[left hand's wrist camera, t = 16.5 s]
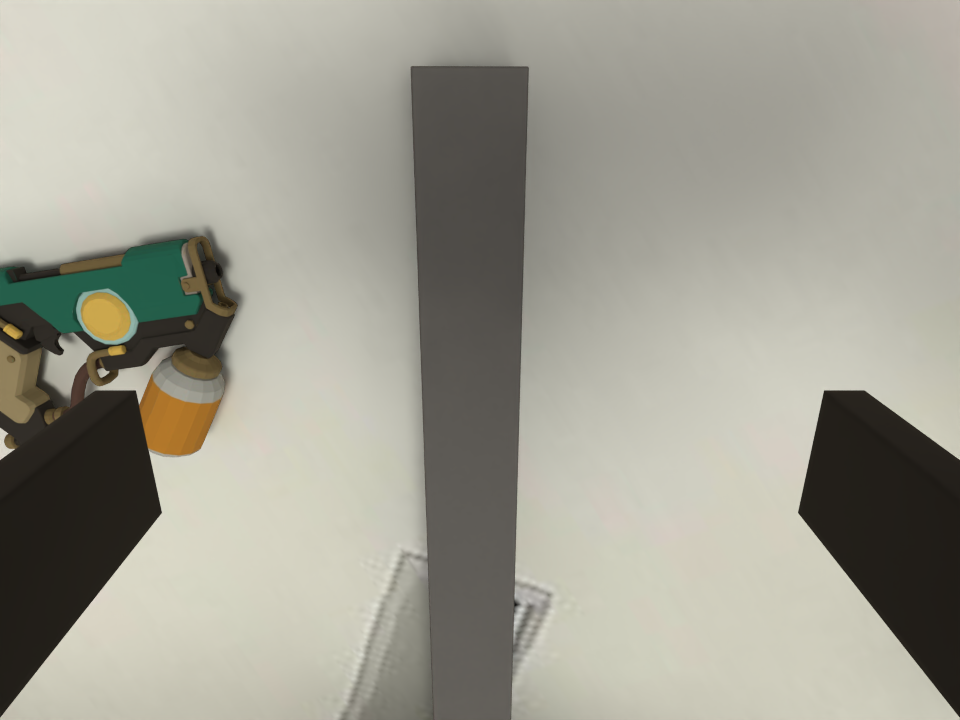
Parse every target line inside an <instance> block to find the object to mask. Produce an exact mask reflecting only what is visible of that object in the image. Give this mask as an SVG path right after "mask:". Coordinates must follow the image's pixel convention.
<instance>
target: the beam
mask: <svg viewBox="0 0 960 720" xmlns="http://www.w3.org/2000/svg"><path fill="white" fill-rule="evenodd" d="M528 71H529V68H528V67H475V66H412V67H411V88H412V117H413V145H414V174H415V203H416V231H417V260H418V288H419V317H420V346H421V374H422V403H423V432H424V460H425V489H426V517H427V546H428V575H429V603H430V632H431V660H432V689H433V718H434V720H511V698H512V662H513V625H514V588H515V551H516V514H517V477H518V440H519V403H520V366H521V329H522V292H523V256H524V219H525V182H526V145H527V108H528Z"/></svg>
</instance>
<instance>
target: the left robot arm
mask: <svg viewBox="0 0 960 720" xmlns="http://www.w3.org/2000/svg"><path fill="white" fill-rule="evenodd" d="M161 513H162V511H161V506H160V502H159V497H158V492H157V488H156V483H155V478H154V474H153V469H152V464H151V460H150V455H149V450H148V445H147V441H146V436H145V431H144V427H143V422H142V417H141V413H140V408H139V403H138V399H137V394H136V391H94V392H93V393H92V394H90V395H89V396H87V397H86V398H85V399H83V400H82V401H81V402H79V403H78V404H77V405H75V406H74V407H72V408H71V409H70V410H68V411H67V412H66V413H64V414H63V415H61V416H60V417H59V418H57V419H56V420H55V421H53V422H52V423H50V424H49V425H48V426H46V427H45V428H44V429H42V430H41V431H40V432H38V433H37V434H35V435H34V436H33V437H31V438H30V439H29V440H27V441H26V442H24V443H23V444H22V445H20V446H19V447H18V448H16V449H15V450H13V451H12V452H11V453H9V454H8V455H7V456H5V457H4V458H3V459H1V460H0V717H1V716H2V715H3V713H4V712H5V711H6V709H7V708H8V707H9V706H10V704H11V703H12V702H13V701H14V699H15V698H16V697H17V696H18V694H19V693H20V692H21V690H22V689H23V688H24V687H25V685H26V684H27V683H28V682H29V680H30V679H31V678H32V677H33V675H34V674H35V673H36V671H37V670H38V669H39V668H40V666H41V665H42V664H43V663H44V661H45V660H46V659H47V658H48V656H49V655H50V654H51V652H52V651H53V650H54V649H55V647H56V646H57V645H58V644H59V642H60V641H61V640H62V639H63V637H64V636H65V635H66V633H67V632H68V631H69V630H70V628H71V627H72V626H73V625H74V623H75V622H76V621H77V620H78V618H79V617H80V616H81V614H82V613H83V612H84V611H85V609H86V608H87V607H88V606H89V604H90V603H91V602H92V601H93V599H94V598H95V597H96V596H97V594H98V593H99V592H100V590H101V589H102V588H103V587H104V585H105V584H106V583H107V582H108V580H109V579H110V578H111V577H112V575H113V574H114V573H115V571H116V570H117V569H118V568H119V566H120V565H121V564H122V563H123V561H124V560H125V559H126V558H127V556H128V555H129V554H130V552H131V551H132V550H133V549H134V547H135V546H136V545H137V544H138V542H139V541H140V540H141V539H142V537H143V536H144V535H145V533H146V532H147V531H148V530H149V528H150V527H151V526H152V525H153V523H154V522H155V521H156V520H157V518H158V517H159V516H160V514H161ZM798 513H799V514H800V516H801V517H802V518H803V520H804V521H805V522H806V523H807V525H808V526H809V527H810V528H811V530H812V531H813V532H814V533H815V535H816V536H817V537H818V539H819V540H820V541H821V542H822V544H823V545H824V546H825V547H826V549H827V550H828V551H829V552H830V554H831V555H832V556H833V558H834V559H835V560H836V561H837V563H838V564H839V565H840V566H841V568H842V569H843V570H844V571H845V573H846V574H847V575H848V577H849V578H850V579H851V580H852V582H853V583H854V584H855V585H856V587H857V588H858V589H859V590H860V592H861V593H862V594H863V596H864V597H865V598H866V599H867V601H868V602H869V603H870V604H871V606H872V607H873V608H874V609H875V611H876V612H877V613H878V614H879V616H880V617H881V618H882V620H883V621H884V622H885V623H886V625H887V626H888V627H889V628H890V630H891V631H892V632H893V633H894V635H895V636H896V637H897V639H898V640H899V641H900V642H901V644H902V645H903V646H904V647H905V649H906V650H907V651H908V652H909V654H910V655H911V656H912V658H913V659H914V660H915V661H916V663H917V664H918V665H919V666H920V668H921V669H922V670H923V671H924V673H925V674H926V675H927V677H928V678H929V679H930V680H931V682H932V683H933V684H934V685H935V687H936V688H937V689H938V690H939V692H940V693H941V694H942V696H943V697H944V698H945V699H946V701H947V702H948V703H949V704H950V706H951V707H952V708H953V709H954V711H955V712H956V713H957V715H958V716H959V717H960V460H959V459H957V458H956V457H955V456H953V455H952V454H951V453H949V452H948V451H947V450H945V449H944V448H942V447H941V446H940V445H938V444H937V443H936V442H934V441H933V440H931V439H930V438H929V437H927V436H926V435H925V434H923V433H922V432H920V431H919V430H918V429H916V428H915V427H914V426H912V425H911V424H910V423H908V422H907V421H905V420H904V419H903V418H901V417H900V416H899V415H897V414H896V413H894V412H893V411H892V410H890V409H889V408H888V407H886V406H885V405H883V404H882V403H881V402H879V401H878V400H877V399H875V398H874V397H873V396H871V395H870V394H868V393H867V392H866V391H824V394H823V399H822V403H821V408H820V413H819V417H818V422H817V427H816V431H815V436H814V441H813V445H812V450H811V455H810V460H809V464H808V469H807V474H806V478H805V483H804V488H803V492H802V497H801V502H800V506H799V511H798Z"/></svg>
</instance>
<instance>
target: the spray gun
mask: <svg viewBox="0 0 960 720" xmlns="http://www.w3.org/2000/svg"><path fill="white" fill-rule="evenodd" d="M198 242H200V244H201V245H202V247H203V250H204V254H205V257H206V260H207V261H200V258H199V254H198V251H197V243H198ZM222 274H223V273H222V268H221V266H220V265H219V264H218V263H217V262H215V259H214V256H213V253H212V249H211V246H210V243H209V241H208V239H207V238H206V237H204V236H200V237H195V238H191V239H190V240H189V241H188V240H186V239H181V240H174V241H168V242H162V243H156V244H149V245H143V246H137V247H131V248H130V249H129V250H128V251H127V252H126V253H125V254H122V255H115V256H109V257H103V258H97V259H91V260H84V261H78V262H72V263H66V264H62V265H61V266H60V268H59V269H52V270H46V271H40V272H33V273H26V271H25V268H24V267H6V268H0V428H2V429H3V430H4V431H6V432H7V433H8V434H7V435H6V437H5V439H4V443H5V445H6V447H7V448H9V449H16V448H18V447H19V446H20V445H22V444H23V443H24V442H26V441H27V440H29V439H30V438H31V437H33V436H34V435H35V434H37V433H38V432H40V431H41V430H42V429H44V428H45V427H46V426H48V425H49V424H50V423H52V422H53V421H55V420H56V419H57V418H59V417H60V416H61V415H63V414H64V413H66V412H67V411H68V410H70V409H71V408H72V407H74V406H75V405H77V404H78V403H79V402H81V401H82V400H83V399H84V394H85V388H86V383H87V380H88V378H89V376H90V379H91V381H92V382H93V383H94V384H95V385H97V386H103V385H105V384H108V383H110V382H111V381H113V380H114V379H115V378H116V377H117V376H118V369H125V368H132V367H138V366H143V365H145V364H146V363H147V362H148V361H149V360H150V359H151V357H152V356H153V355H154V353H155V352H156V351H157V349H158V348H161V347H167V346H173V345H179V344H185V345H186V347H182V348H178V349H176V350H175V352H174V353H173V356H172V357H170V358H167V359H164V360H162V362H161V363H160V364H159V365H158V367H157V368H156V369H155V370H154V372H153V373H152V375H151V377H150V380H149V382H148V385H147V387H146V390H145V392H144V395H143V397H142V400H141V402H140V405H139V408H140V413H141V417H142V422H143V427H144V431H145V436H146V441H147V445H148V450H149V451H150V452H152V453H154V454H157V455H160V456H165V457H181V456H187V455H191V454H193V453H195V452H197V451H198V450H200V448H201V446H202V444H203V442H204V440H205V438H206V435H207V433H208V430H209V428H210V425H211V423H212V421H213V418H214V416H215V413H216V411H217V408H218V406H219V404H220V401H221V399H222V396H223V394H224V386H225V383H224V379H223V376H222V375H221V374H220V371H221V369H222V364H221V361H220V360H219V359H218V358H217V357H216V356H215V355H214V354H215V353H216V352H217V351H218V349H219V347H220V345H221V343H222V341H223V339H224V337H225V335H226V333H227V330H228V328H229V326H230V324H231V322H232V320H233V318H234V316H235V314H234V313H235V310H236V308H237V306H238V305H237V304H236V302H234V301H233V300H231V299H229V298H228V297H226V296H225V294H224V291H223V287H222V284H221V280H220V278H221V277H222ZM213 284H214V287H215V290H216V294H217V297H218V300H219V301H221V302H218V305H217V304H215V303H213V302H212V298H211V297H212V295H213V290H212V289H211V288H208V285H213ZM228 306H229V307H230V308H228ZM61 332H62V333H70V332H74V333H75V334H76V335H77V336H78V337H79V338H80V339H81V340H83V341H84V342H85V343H86V344H87V345H88V346H89V347H90V348H91V349H93V350H94V352H92V353H91V354H89V356H88V358H87V362H86V363H84V364H83V365H82V367H81V368H80V369H79V370H78V372H77V374H76V375H75V379H74V383H73V386H72V393H71V405H70V407H67V406H64V407H59V408H57V409H55V407H54V405H53V402H52V401H51V400H50V397H49V395H48V394H47V393H46V392H44V391H43V390H41V389H39V388H38V387H37V386H36V381H37V375H38V370H39V364H40V359H41V353H42V350H41V348H42V347H44V348H46V349H47V350H49V351H50V352H52V353H54V354H57V355H62V354H63V352H64V350H63V349H62V348H61V347H60V345H59V342H58V339H59V337H60V335H61ZM100 368H104V369H105V370H106V371H110V372H109V374H107V375H106V376H105V377H102V378H100V377H99V374H98V372H97V369H100Z"/></svg>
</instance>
